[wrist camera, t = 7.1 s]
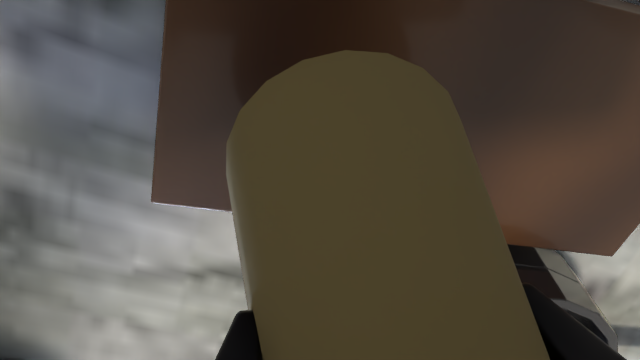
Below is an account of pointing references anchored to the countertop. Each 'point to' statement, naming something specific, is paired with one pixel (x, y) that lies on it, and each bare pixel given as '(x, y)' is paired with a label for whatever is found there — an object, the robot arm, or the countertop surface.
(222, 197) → the serving board
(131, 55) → the countertop surface
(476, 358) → the olive gourd
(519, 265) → the pan
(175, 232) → the countertop surface
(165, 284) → the countertop surface
